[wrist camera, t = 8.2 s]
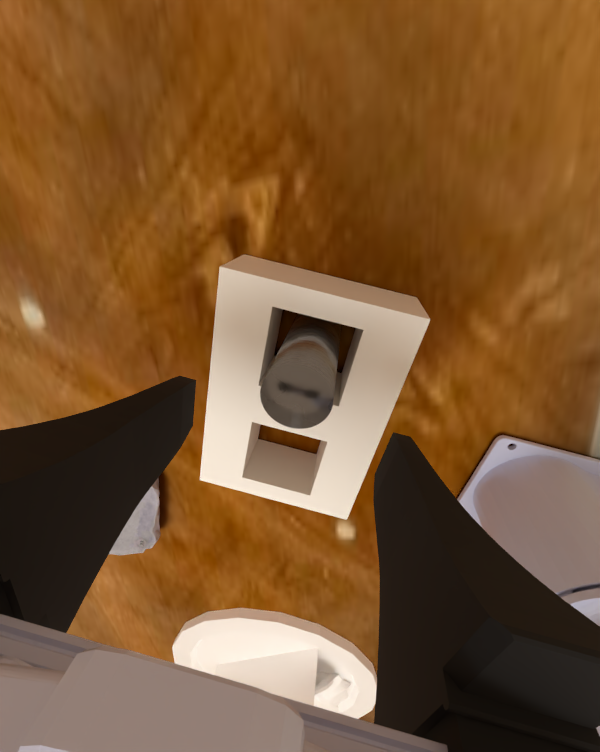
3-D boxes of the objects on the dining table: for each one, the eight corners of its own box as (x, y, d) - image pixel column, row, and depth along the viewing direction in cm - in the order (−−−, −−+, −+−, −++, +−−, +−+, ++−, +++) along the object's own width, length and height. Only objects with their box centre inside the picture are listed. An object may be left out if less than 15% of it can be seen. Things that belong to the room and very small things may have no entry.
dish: (298, 728, 49) (284, 861, 39) (147, 653, 45) (88, 780, 35) (424, 680, 38) (447, 848, 28) (238, 574, 34) (190, 727, 24)
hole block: (416, 297, 19) (430, 319, 15) (348, 476, 26) (346, 519, 22) (244, 254, 19) (219, 266, 16) (220, 442, 26) (199, 479, 22)
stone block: (159, 416, 28) (36, 422, 28) (138, 456, 24) (-7, 464, 24) (186, 512, 34) (84, 518, 34) (173, 558, 30) (56, 565, 30)
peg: (347, 315, 20) (343, 377, 13) (332, 359, 22) (321, 437, 14) (298, 301, 20) (268, 355, 13) (287, 345, 22) (254, 416, 15)
